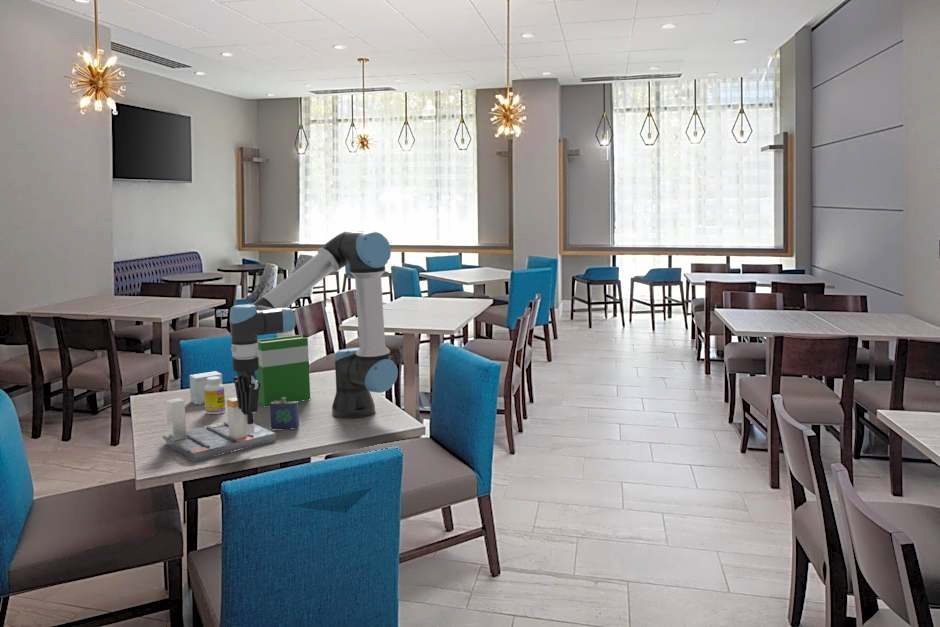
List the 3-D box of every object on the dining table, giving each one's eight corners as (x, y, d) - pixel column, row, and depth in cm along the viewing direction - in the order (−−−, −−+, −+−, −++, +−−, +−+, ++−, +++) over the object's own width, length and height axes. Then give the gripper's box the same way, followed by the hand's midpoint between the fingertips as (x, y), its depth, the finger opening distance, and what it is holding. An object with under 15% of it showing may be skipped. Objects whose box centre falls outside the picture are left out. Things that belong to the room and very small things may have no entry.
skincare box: (196, 405, 273) (195, 377, 272) (190, 401, 278) (188, 374, 276) (224, 400, 280) (222, 373, 278) (217, 396, 285) (215, 370, 283)
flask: (299, 426, 246) (298, 395, 244) (298, 429, 243) (296, 397, 241) (271, 427, 245) (269, 396, 243) (270, 430, 242) (268, 399, 240)
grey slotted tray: (160, 444, 229) (157, 399, 227) (242, 425, 247) (240, 383, 245) (191, 462, 212) (187, 414, 210) (276, 441, 231) (274, 396, 228)
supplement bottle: (219, 415, 259) (216, 380, 257) (202, 415, 260) (199, 379, 258) (229, 410, 265) (226, 376, 264) (212, 409, 267) (210, 375, 265)
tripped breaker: (229, 436, 228) (226, 398, 226) (241, 433, 230) (239, 396, 228) (235, 439, 225) (232, 401, 223) (247, 436, 227) (245, 398, 226)
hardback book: (303, 395, 285) (300, 334, 282) (310, 399, 279) (307, 337, 275) (258, 402, 275) (254, 340, 272) (264, 407, 269) (261, 343, 266)
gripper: (223, 355, 220) (227, 431, 223) (243, 362, 210) (247, 441, 214) (246, 352, 225) (250, 426, 228) (267, 358, 216) (271, 435, 219)
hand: (249, 433), depth 221 cm, fingers closed
